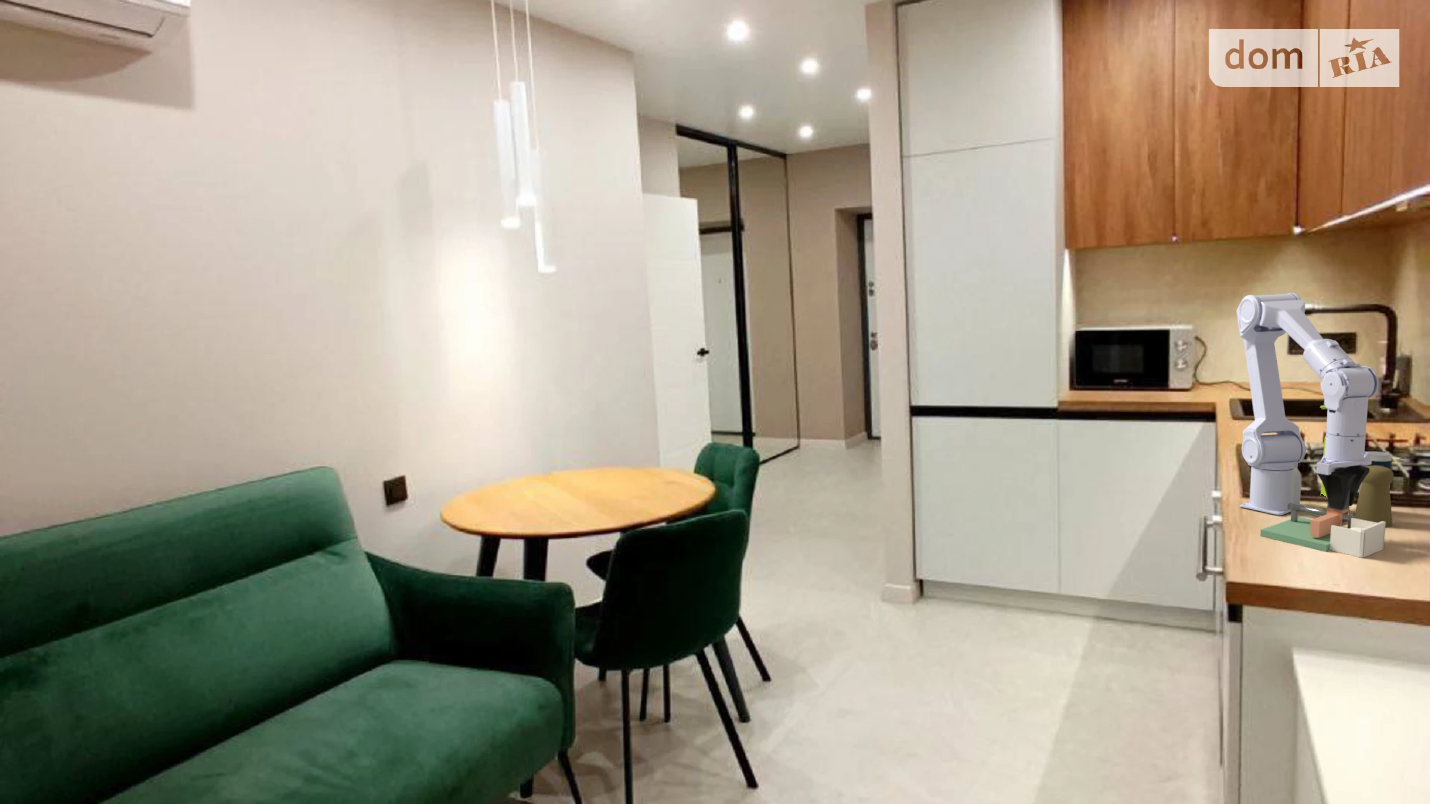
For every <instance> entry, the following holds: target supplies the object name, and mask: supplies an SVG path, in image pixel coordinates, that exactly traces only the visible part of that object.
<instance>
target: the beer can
mask: <svg viewBox="0 0 1430 804" xmlns="http://www.w3.org/2000/svg"><path fill="white" fill-rule="evenodd" d="M1367 452H1370V460H1371V461H1372V462H1371V464H1370V465H1360V466H1362V467H1365V466H1382V467H1386V468H1389V469H1390V470H1392V461H1393V459H1392V456H1391V454H1390V453H1388V452H1382V451H1375V450H1374V451H1372V450H1370V451H1369V450H1368V451H1367ZM1361 485H1362V483H1361ZM1361 485H1360V487H1359V489H1358V495H1359V494H1360V489H1361ZM1390 488H1391V484H1390V485H1389V489H1390Z"/></svg>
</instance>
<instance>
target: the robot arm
mask: <svg viewBox="0 0 1430 804" xmlns="http://www.w3.org/2000/svg"><path fill="white" fill-rule="evenodd" d="M1305 312H1306V303H1305V302H1304V300H1302V298H1300V296H1299V295H1298V294H1297V293H1295V292H1288V293H1280V294H1278V293H1275V294H1260V295H1259V294H1258V295H1253V294H1248V295H1245V296H1244V297H1243V298H1242V299H1241V301H1240V302H1239V305H1238V307H1237V309H1236V318H1237V323H1238V332H1239V337H1240V338H1242V339H1243V341H1242V342H1243V347H1244V355H1245V361H1246V367H1247V374H1248V375H1247V376H1248V382H1249V389H1250V395H1251V396H1250V397H1251V403H1252V411H1253V415H1254V421H1252V422H1251V423H1250V424H1249V425H1248V426H1247V427H1245V428H1244V429H1243V430H1242V444H1241V454H1242V457H1243V459H1244V460H1245V462H1246V463H1247V465H1248V466H1250V467H1251V468H1250V488H1249V501H1248V502H1245V503H1244V502H1243V503H1240V504H1239V507H1241V508H1244V509H1249V510H1254V511H1259V512H1263V513H1267V514H1272V515H1277V516H1282V515H1285V514H1288V513H1291V510H1290V509H1288V504H1289V503H1292V504H1297V505H1302V506H1306V505H1305V504H1302V503H1301V492H1302V491H1301V490H1302V475H1301V472H1300V470H1299V469H1298V465H1299V463H1301V462H1303V460H1304V459H1305V455H1306V454H1307V453H1306V452H1307V448H1306V447H1307V446H1306V443H1305V441H1304V440H1303V438H1302V436H1301V431H1300V427H1299V426H1298V425H1297V424H1296V423H1294V422H1293V421H1291V420H1289V419H1288V418H1287V417H1286V413H1285V405H1284V399H1283V392H1282V385H1281V380H1280V379H1281V378H1280V372H1279V365H1278V360H1277V352H1276V347H1275V343H1276V341H1277V340H1278V338H1280V337H1282V336H1284V335H1285V334H1287V335H1289V337H1290V338H1291V339H1292V340H1293V341H1295V343H1296V344H1298V345H1299V346H1300V347H1301V348H1302V349H1303V350H1304V351H1303V354H1302V359H1303V361H1305V362H1306V364H1307V365H1308V366H1309V367H1310V369H1312V371H1313V372H1314V373H1315V374H1316V375H1317V376H1318V378H1319V379H1320V380H1321V381H1320V391H1321V392H1322V395H1323V397H1324V399H1323V400H1324V401H1323V405H1325V407H1326V408H1328V409H1327V412H1326V413H1327V414H1326V415H1327V416H1326V429H1325V430H1326V431H1325V436H1326V442H1325V455H1324V456H1323V455H1322V458H1321V459H1320V461H1318V462H1317V463H1316V468H1315V469H1316V472H1315V473H1316V475H1318V477H1319V479H1320V481H1321V484H1322V483H1323V485H1324V487H1325V491H1326V495H1327V499H1328V500H1327V504H1328V503H1329V507H1332V508H1337V509H1344V507H1345V504H1346V500H1347V495H1348V491H1349V490H1350V500H1349V507H1352V506H1353V504H1354V502H1355V501H1356V497H1357V495H1358V493H1359V487H1360V485H1361V483H1362V481H1363V480H1364V478H1365V477H1366V476H1367V474H1368V473H1369V470H1370V469H1369V468H1367V467H1362V466H1361V465H1370V464H1371V462H1372V461H1371V460H1370V452H1368V451H1365V450H1366V449H1365V448H1366V447H1365V446H1366V435H1367V422H1368V421H1367V420H1368V409H1369V408H1368V405H1369V399H1371V398H1372V397H1374V396H1375V395H1376V393H1377V391H1378V389H1379V378H1378V376H1377V374H1376V372H1375V371H1374V369H1373V368H1372V367H1370V366H1367V365H1361V364H1360V363H1356V362H1355V361H1354V360H1353V359H1352V358H1351V357H1350V356H1349V355H1348V353H1346V351H1345V350H1344V349H1342V347H1341V346H1340V343H1339V342H1338V341H1336V340H1333V339H1331V338H1323V337H1322V336H1321V334H1320V332H1319V331H1318V330H1317V328H1316V327H1315V326H1314V325H1313V323H1312V321H1310V319H1309V318H1308V316H1307V315H1306V314H1305ZM1273 433H1275V434H1273ZM1354 500H1355V501H1354Z"/></svg>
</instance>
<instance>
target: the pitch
mask: <svg viewBox="0 0 1430 804" xmlns="http://www.w3.org/2000/svg"><path fill="white" fill-rule="evenodd" d="M1311 520H1312V519H1310V518H1305V517H1300V516H1298V520H1297V522H1292V521H1291V518H1290V519H1288V520H1284V521H1281V522H1279V523H1276V524H1272V525H1270V526H1267V527H1264V528H1262V529H1260V537H1264V538H1268V539H1273V540H1277V541H1280V542H1285V543H1290V544H1291V545H1292V544H1293V545H1297V546H1302V547H1305V548H1310V549H1314V550H1317V549H1318V551H1322V552H1328V550H1329V551H1331V550H1330V536H1331V533H1330V534H1328V535H1325V536H1322V537H1320V538H1317V537H1312V536H1310V526H1311ZM1342 527H1344V528H1348V526H1345V525H1344V526H1342Z"/></svg>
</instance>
